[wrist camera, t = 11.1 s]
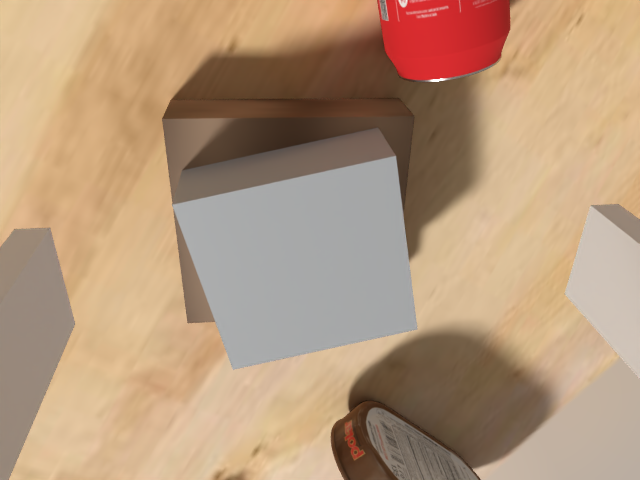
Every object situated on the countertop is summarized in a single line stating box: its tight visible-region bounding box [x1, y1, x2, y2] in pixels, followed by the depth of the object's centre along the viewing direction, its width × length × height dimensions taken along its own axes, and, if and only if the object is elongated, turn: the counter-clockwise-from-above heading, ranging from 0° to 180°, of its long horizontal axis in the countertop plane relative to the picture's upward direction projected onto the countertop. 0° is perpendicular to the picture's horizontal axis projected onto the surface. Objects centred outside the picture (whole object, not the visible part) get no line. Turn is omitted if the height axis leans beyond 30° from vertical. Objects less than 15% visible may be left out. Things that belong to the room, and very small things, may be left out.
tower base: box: [162, 98, 414, 323], centre depth 28 cm, size 11×11×4 cm
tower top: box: [172, 128, 417, 370], centre depth 25 cm, size 9×9×4 cm
